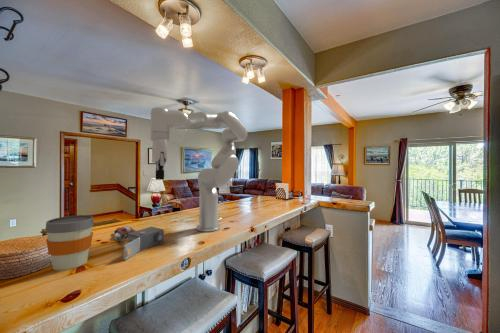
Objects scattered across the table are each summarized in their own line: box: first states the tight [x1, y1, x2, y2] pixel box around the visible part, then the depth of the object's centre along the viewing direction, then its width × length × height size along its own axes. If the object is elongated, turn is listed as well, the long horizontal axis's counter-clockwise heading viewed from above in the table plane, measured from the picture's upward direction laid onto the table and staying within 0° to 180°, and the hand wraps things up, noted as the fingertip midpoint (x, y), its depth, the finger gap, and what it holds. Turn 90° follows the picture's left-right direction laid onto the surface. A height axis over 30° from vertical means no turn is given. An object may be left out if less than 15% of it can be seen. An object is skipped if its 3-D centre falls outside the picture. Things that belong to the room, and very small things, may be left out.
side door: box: [123, 237, 141, 261], centre depth 80 cm, size 1×9×5 cm, turn 175°
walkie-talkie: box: [113, 225, 136, 244], centre depth 100 cm, size 9×4×20 cm
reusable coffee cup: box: [44, 214, 95, 271], centre depth 73 cm, size 13×13×15 cm
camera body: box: [127, 226, 165, 252], centre depth 91 cm, size 11×10×6 cm
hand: (159, 179), depth 95 cm, fingers closed
